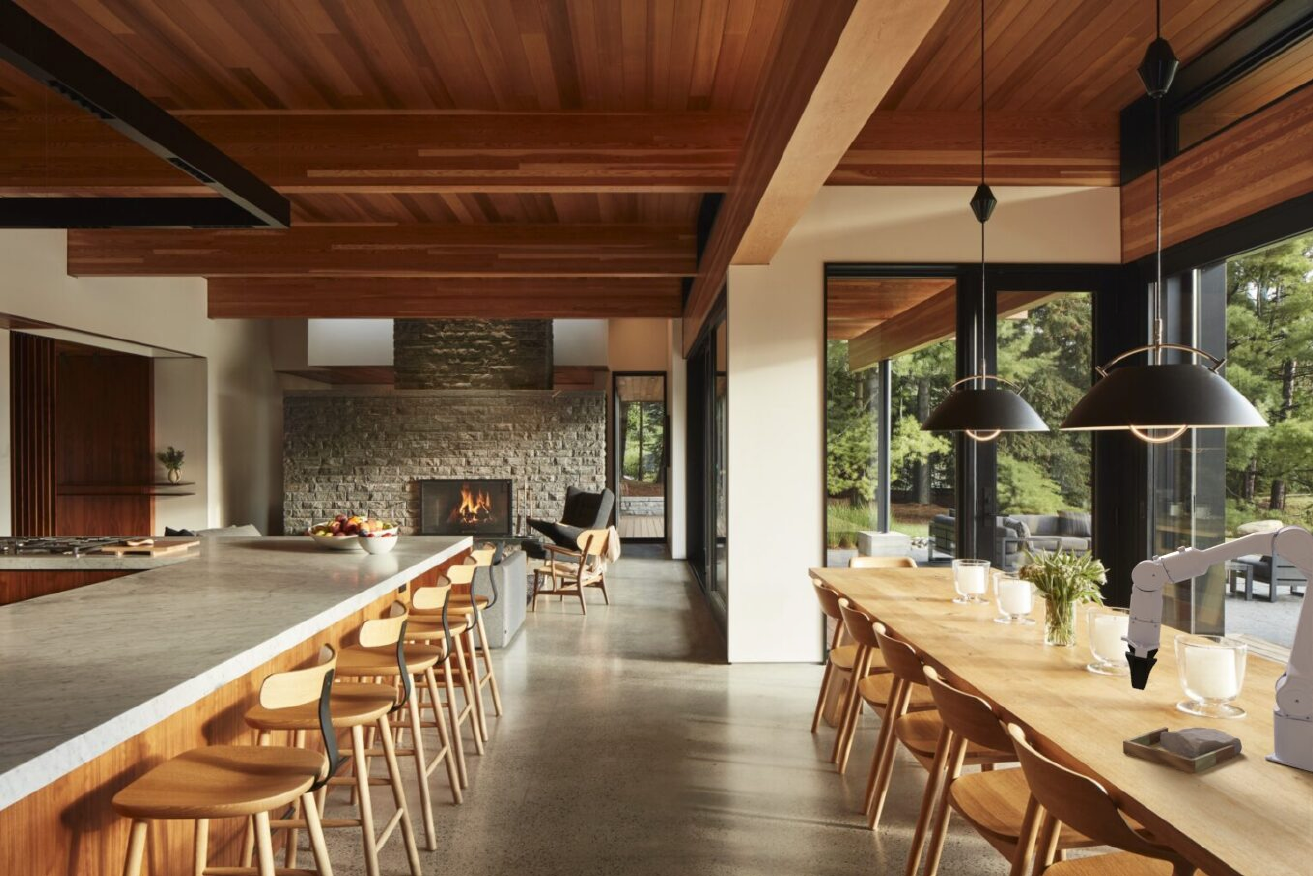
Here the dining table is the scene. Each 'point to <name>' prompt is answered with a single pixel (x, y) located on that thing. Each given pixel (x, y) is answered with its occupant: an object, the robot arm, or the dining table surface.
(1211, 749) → the stone block
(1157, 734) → the guide slot
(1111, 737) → the dining table surface
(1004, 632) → the dining table surface
